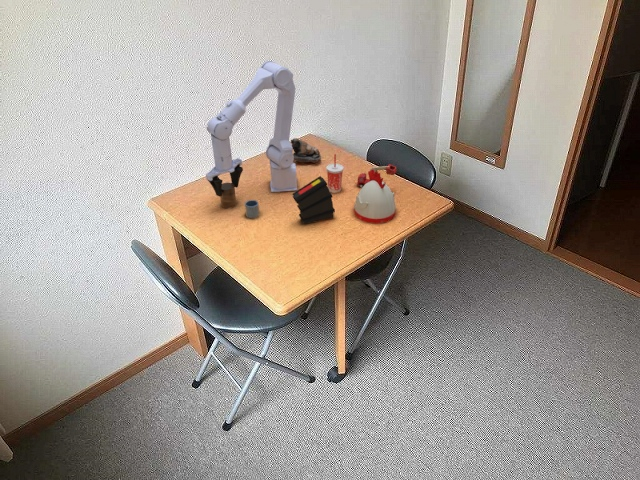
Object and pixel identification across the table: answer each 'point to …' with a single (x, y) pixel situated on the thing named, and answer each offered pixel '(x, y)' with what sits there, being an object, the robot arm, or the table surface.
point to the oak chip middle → (228, 198)
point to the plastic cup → (252, 209)
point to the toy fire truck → (389, 170)
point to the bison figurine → (304, 151)
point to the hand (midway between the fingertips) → (227, 191)
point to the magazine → (314, 201)
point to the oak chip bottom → (228, 204)
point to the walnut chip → (228, 189)
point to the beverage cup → (334, 176)
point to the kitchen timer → (375, 201)
